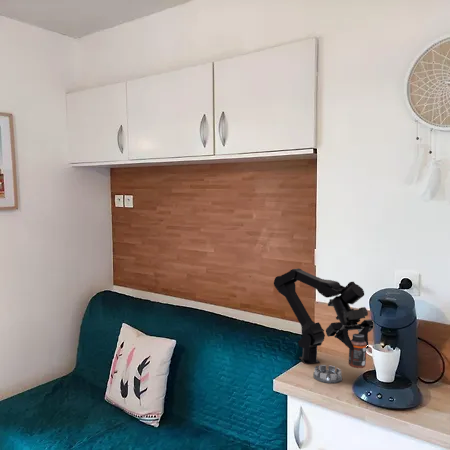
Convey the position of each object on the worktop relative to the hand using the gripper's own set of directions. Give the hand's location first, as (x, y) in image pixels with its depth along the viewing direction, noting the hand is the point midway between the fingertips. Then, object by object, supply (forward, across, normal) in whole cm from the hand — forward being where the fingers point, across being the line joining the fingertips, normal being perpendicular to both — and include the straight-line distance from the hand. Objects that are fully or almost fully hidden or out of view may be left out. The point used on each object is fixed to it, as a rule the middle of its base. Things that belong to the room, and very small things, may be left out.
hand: (360, 349), depth 162 cm
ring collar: (+3, -7, +16) cm, 18 cm away
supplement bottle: (+4, 0, +6) cm, 7 cm away
